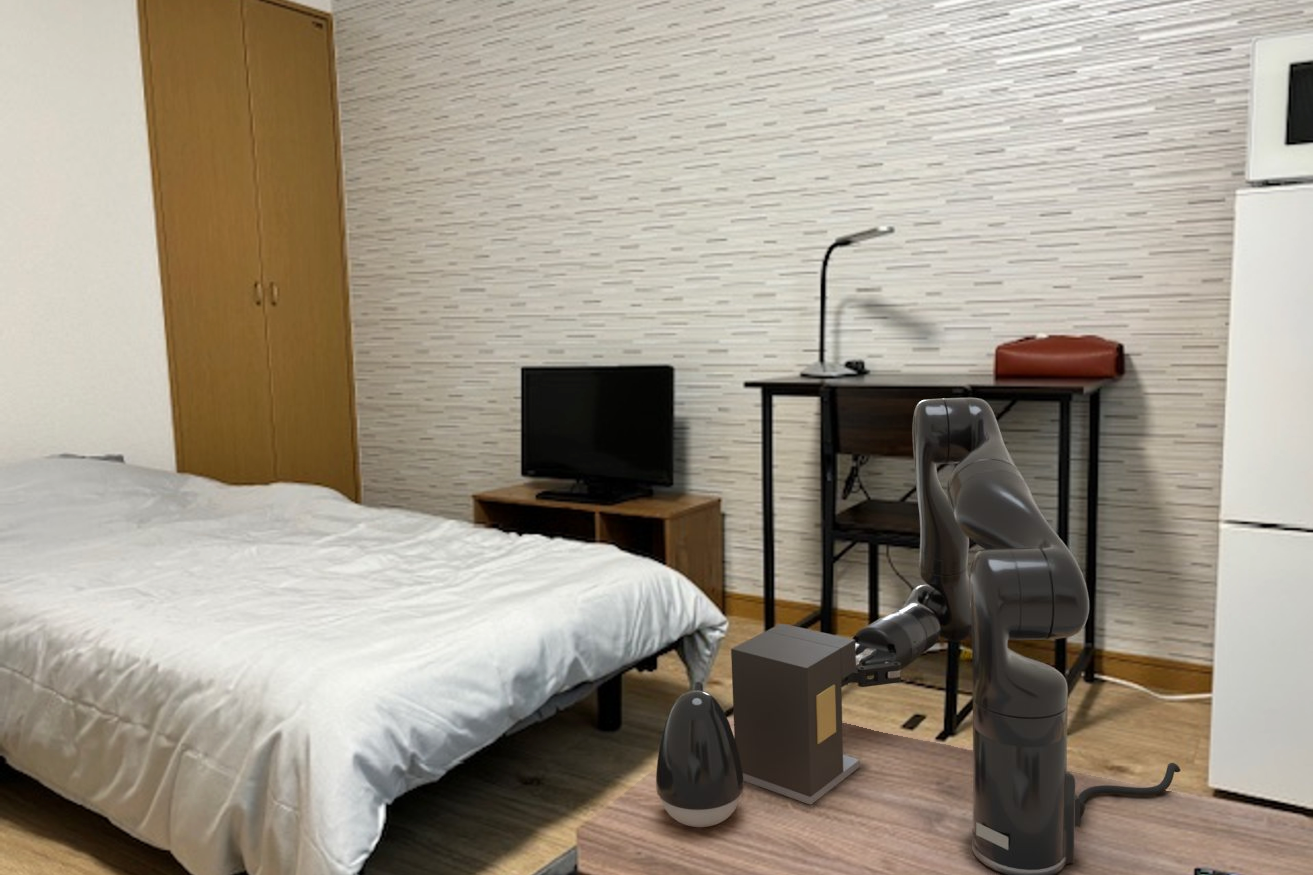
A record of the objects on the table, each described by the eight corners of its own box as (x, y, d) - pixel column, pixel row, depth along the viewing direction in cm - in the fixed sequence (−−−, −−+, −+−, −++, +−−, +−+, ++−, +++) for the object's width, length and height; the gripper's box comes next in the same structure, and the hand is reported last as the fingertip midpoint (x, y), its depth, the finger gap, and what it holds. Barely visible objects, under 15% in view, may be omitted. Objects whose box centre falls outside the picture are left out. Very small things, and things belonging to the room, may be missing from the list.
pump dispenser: (745, 792, 120) (740, 673, 118) (744, 839, 110) (739, 710, 108) (661, 791, 121) (656, 674, 119) (653, 838, 111) (646, 711, 109)
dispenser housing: (787, 743, 132) (783, 621, 130) (861, 767, 125) (858, 638, 123) (735, 777, 124) (730, 648, 121) (812, 805, 117) (808, 668, 114)
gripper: (848, 610, 145) (781, 646, 132) (932, 627, 136) (869, 668, 123) (849, 659, 146) (782, 699, 133) (933, 679, 137) (870, 724, 124)
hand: (825, 684), depth 128 cm, fingers closed
